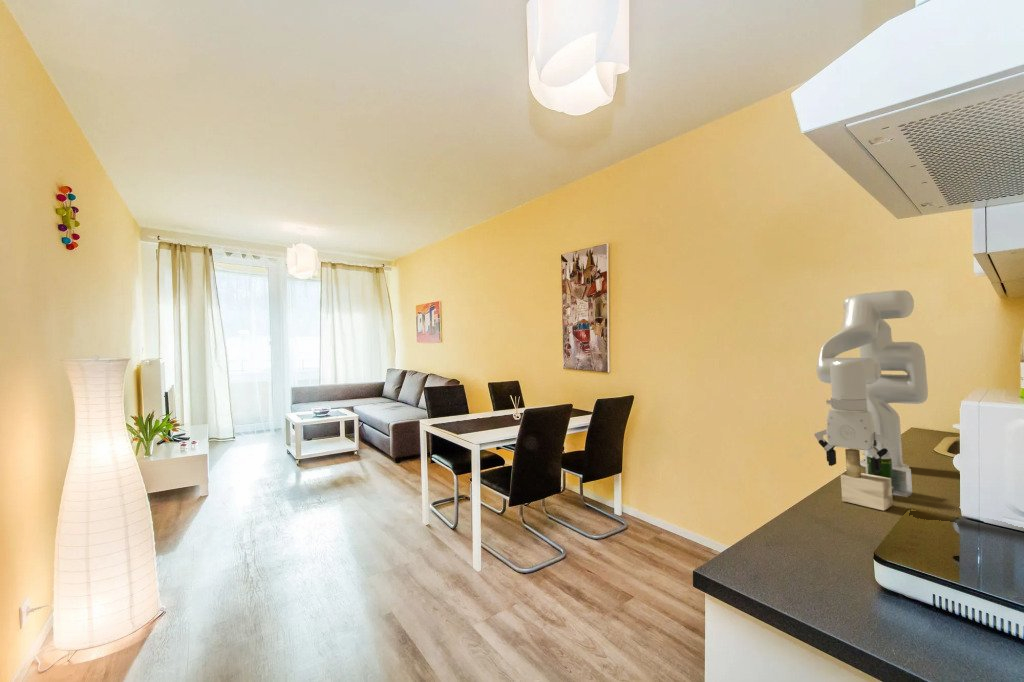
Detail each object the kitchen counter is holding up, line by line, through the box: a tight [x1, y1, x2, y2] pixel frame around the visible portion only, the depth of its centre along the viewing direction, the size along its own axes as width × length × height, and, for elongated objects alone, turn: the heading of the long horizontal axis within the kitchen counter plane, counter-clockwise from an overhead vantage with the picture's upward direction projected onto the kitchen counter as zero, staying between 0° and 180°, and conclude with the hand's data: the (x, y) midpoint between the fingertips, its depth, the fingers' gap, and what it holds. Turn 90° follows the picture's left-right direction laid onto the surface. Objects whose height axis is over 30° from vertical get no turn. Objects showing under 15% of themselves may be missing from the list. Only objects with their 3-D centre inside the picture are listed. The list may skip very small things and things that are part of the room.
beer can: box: [867, 452, 895, 499], centre depth 119 cm, size 5×5×12 cm
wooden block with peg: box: [840, 448, 894, 511], centre depth 114 cm, size 6×9×14 cm, turn 32°
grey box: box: [865, 465, 913, 498], centre depth 122 cm, size 4×9×7 cm, turn 32°
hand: (853, 468), depth 115 cm, fingers open, 9 cm apart
